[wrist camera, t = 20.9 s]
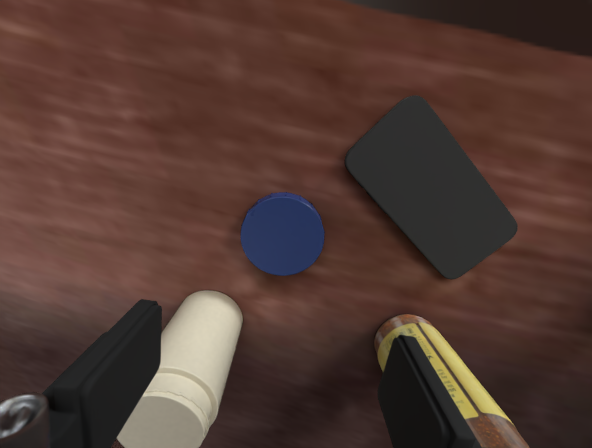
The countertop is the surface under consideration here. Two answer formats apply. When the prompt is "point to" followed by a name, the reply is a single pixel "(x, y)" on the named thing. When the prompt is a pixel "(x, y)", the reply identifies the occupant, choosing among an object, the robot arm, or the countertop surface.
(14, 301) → the countertop surface
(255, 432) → the countertop surface
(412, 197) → the phone
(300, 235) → the jar lid
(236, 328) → the mayonnaise jar
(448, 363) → the sauce bottle
